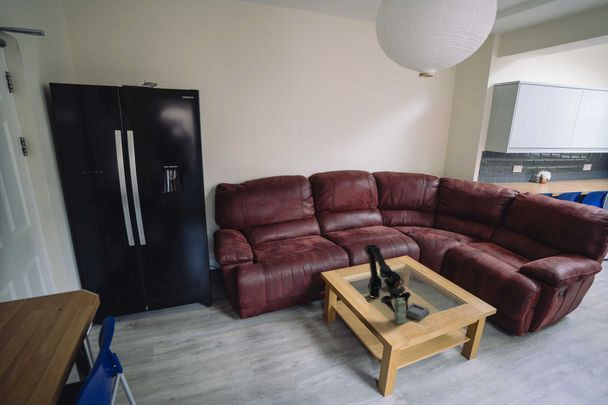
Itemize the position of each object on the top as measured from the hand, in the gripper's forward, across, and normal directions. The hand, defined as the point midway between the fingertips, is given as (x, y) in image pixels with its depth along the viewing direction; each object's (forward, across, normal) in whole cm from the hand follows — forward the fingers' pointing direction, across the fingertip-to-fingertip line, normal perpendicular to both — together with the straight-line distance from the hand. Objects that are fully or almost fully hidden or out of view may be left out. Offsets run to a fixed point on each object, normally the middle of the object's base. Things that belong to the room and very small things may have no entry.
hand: (400, 310), depth 181 cm
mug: (-25, +24, +36) cm, 50 cm away
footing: (+2, +15, +9) cm, 17 cm away
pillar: (+5, 0, +6) cm, 8 cm away
